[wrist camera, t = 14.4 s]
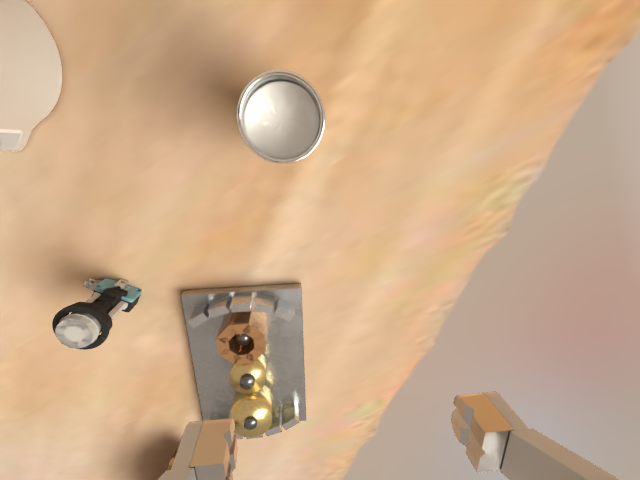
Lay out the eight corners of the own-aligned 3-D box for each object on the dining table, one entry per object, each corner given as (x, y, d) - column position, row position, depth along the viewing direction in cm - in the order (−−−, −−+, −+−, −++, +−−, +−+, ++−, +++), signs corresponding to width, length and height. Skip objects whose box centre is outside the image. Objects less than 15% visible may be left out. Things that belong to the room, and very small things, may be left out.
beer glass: (320, 143, 38) (341, 146, 24) (268, 164, 38) (258, 180, 24) (298, 84, 36) (307, 49, 21) (243, 108, 36) (216, 88, 22)
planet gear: (226, 346, 44) (220, 365, 40) (220, 309, 42) (214, 326, 38) (268, 342, 44) (267, 361, 41) (264, 306, 42) (263, 322, 39)
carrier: (207, 422, 50) (196, 459, 44) (184, 290, 42) (168, 314, 36) (305, 412, 51) (308, 447, 45) (300, 283, 44) (303, 305, 38)
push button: (85, 294, 41) (25, 342, 31) (96, 260, 39) (37, 299, 30) (137, 311, 42) (94, 361, 33) (149, 279, 41) (108, 322, 32)
